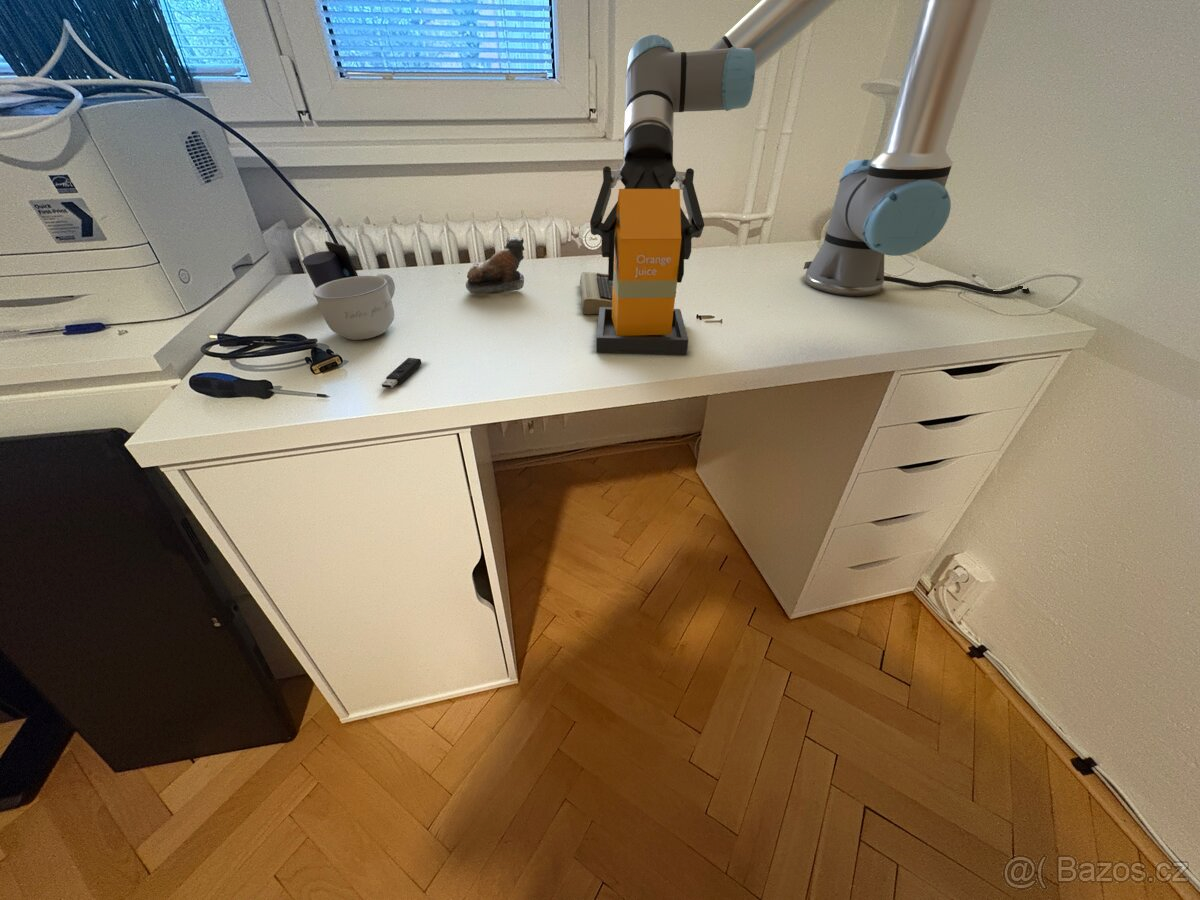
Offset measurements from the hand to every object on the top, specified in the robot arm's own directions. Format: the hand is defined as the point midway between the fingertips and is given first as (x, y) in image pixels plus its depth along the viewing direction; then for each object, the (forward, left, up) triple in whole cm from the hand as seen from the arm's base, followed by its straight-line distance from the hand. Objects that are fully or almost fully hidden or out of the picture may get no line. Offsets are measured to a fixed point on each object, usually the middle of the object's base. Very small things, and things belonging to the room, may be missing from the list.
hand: (645, 277), depth 71 cm
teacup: (+45, -3, -11) cm, 46 cm away
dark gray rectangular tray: (0, -3, -11) cm, 11 cm away
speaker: (+56, -15, -11) cm, 59 cm away
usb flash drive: (+34, +13, -11) cm, 38 cm away
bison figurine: (+28, -23, -11) cm, 38 cm away
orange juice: (0, -3, -9) cm, 10 cm away
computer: (+7, -20, -11) cm, 24 cm away
